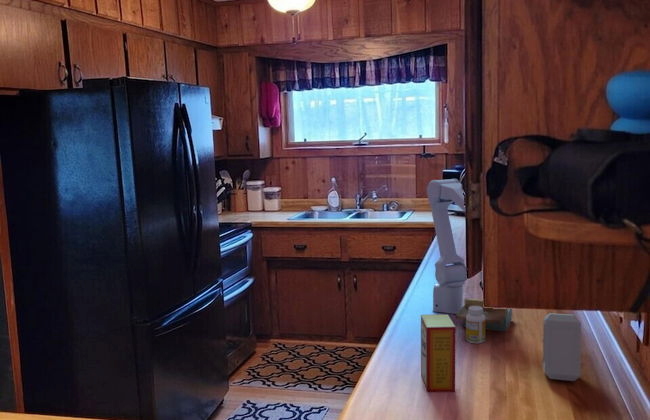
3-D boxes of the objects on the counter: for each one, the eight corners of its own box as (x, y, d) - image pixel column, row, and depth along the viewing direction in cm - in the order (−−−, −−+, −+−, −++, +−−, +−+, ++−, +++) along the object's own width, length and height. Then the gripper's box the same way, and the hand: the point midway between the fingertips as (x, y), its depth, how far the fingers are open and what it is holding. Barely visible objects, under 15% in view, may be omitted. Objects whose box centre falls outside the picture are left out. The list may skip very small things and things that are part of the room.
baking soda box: (421, 375, 146) (420, 313, 144) (447, 375, 146) (447, 312, 144) (426, 392, 136) (426, 326, 134) (455, 391, 136) (455, 325, 134)
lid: (455, 319, 173) (455, 307, 173) (464, 308, 183) (464, 297, 183) (501, 324, 167) (501, 312, 167) (507, 313, 177) (508, 302, 177)
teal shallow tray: (462, 325, 181) (462, 311, 181) (470, 315, 191) (470, 302, 191) (505, 331, 176) (506, 316, 175) (511, 320, 186) (511, 306, 185)
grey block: (538, 308, 168) (545, 314, 140) (568, 310, 166) (580, 316, 138) (538, 362, 167) (544, 379, 138) (567, 365, 165) (580, 382, 136)
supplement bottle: (479, 335, 172) (479, 303, 170) (489, 342, 167) (489, 309, 165) (462, 338, 171) (462, 306, 169) (471, 344, 166) (471, 312, 164)
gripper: (499, 267, 170) (498, 312, 172) (507, 257, 183) (506, 299, 185) (474, 265, 173) (474, 310, 175) (484, 255, 186) (483, 297, 188)
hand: (489, 304), depth 180 cm, fingers closed
